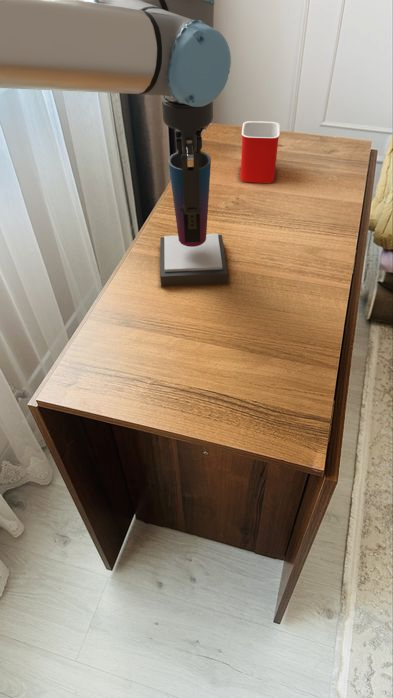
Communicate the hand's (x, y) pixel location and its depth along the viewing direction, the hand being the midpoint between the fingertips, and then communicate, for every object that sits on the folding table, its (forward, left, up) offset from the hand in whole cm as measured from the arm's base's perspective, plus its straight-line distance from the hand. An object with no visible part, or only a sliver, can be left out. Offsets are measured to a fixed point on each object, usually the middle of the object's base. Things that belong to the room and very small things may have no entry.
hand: (191, 229), depth 89 cm
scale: (0, 0, -8) cm, 8 cm away
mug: (+17, +35, -8) cm, 40 cm away
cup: (0, 0, -2) cm, 2 cm away
